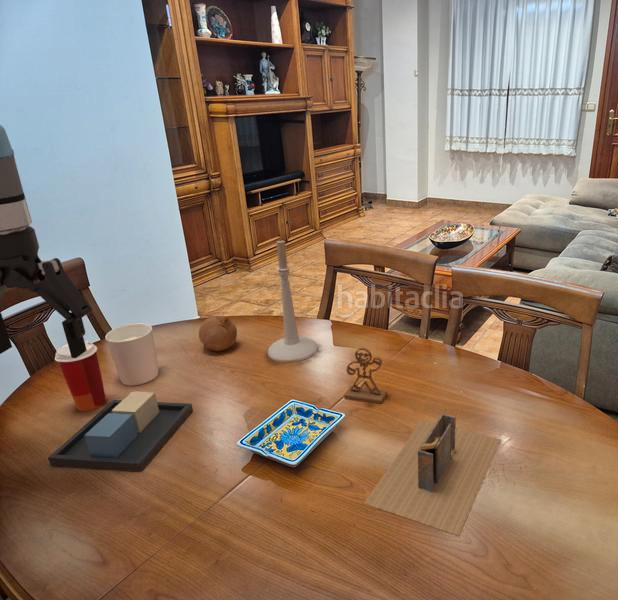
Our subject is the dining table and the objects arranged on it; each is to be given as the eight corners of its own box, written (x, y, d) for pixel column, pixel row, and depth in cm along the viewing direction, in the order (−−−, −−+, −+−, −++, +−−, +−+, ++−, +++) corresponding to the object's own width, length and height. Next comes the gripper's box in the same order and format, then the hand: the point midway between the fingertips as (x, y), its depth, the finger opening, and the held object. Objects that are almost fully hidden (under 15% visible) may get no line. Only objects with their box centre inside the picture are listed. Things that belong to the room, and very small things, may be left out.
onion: (236, 356, 138) (248, 327, 134) (204, 361, 131) (215, 330, 127) (220, 335, 143) (231, 306, 139) (188, 338, 136) (198, 307, 132)
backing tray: (50, 465, 94) (47, 457, 93) (115, 406, 112) (113, 399, 111) (141, 471, 92) (139, 463, 91) (193, 410, 109) (191, 403, 109)
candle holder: (150, 387, 119) (139, 341, 114) (109, 387, 119) (96, 341, 114) (169, 366, 128) (159, 322, 123) (130, 366, 128) (119, 323, 123)
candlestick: (271, 341, 139) (256, 234, 128) (318, 337, 141) (308, 231, 129) (264, 364, 128) (248, 248, 116) (316, 360, 129) (305, 245, 117)
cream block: (117, 431, 102) (111, 410, 100) (137, 411, 109) (132, 391, 107) (140, 432, 102) (134, 411, 100) (159, 412, 108) (154, 392, 106)
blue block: (90, 457, 95) (83, 435, 93) (114, 434, 101) (108, 413, 100) (115, 459, 94) (109, 436, 93) (138, 435, 101) (132, 414, 99)
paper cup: (105, 390, 118) (89, 336, 112) (116, 403, 113) (100, 347, 107) (66, 404, 113) (48, 348, 107) (76, 418, 108) (57, 360, 102)
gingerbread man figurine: (343, 398, 113) (340, 350, 108) (350, 389, 116) (347, 341, 111) (382, 404, 110) (379, 354, 106) (387, 394, 114) (385, 346, 109)
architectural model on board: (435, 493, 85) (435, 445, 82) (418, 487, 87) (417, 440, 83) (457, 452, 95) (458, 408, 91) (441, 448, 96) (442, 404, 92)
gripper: (96, 224, 80) (124, 345, 88) (-50, 221, 82) (-9, 339, 91) (63, 237, 73) (97, 366, 81) (-95, 233, 75) (-47, 359, 84)
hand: (41, 352), depth 86 cm, fingers open, 13 cm apart
